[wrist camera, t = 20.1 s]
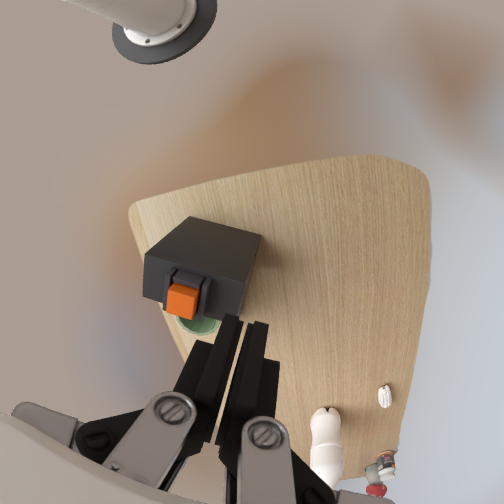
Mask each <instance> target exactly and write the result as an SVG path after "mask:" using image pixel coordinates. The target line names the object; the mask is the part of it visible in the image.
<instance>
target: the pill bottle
mask: <svg viewBox="0 0 504 504" xmlns="http://www.w3.org/2000/svg"><path fill="white" fill-rule="evenodd" d="M376 460H377V469H378V474H379V475H380V476H381V477H380V481H382V482H384V481H389V480H392V479H393V478H395V474H394V471H395V462H394V456H393V452H392V451H384V452H381V453H379V454H378V455H377V457H376Z"/></svg>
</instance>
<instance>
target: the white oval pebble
mask: <svg viewBox="0 0 504 504" xmlns="http://www.w3.org/2000/svg"><path fill="white" fill-rule="evenodd" d="M378 400H379V403H380V405H381V406H382V407H383V408H387V407H389V406H390V405H391V402H392V396H391V391H390V388H389V386H388V385H386V386H383V387H381V388H380V389H379V391H378Z"/></svg>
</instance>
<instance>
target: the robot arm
mask: <svg viewBox="0 0 504 504" xmlns="http://www.w3.org/2000/svg"><path fill="white" fill-rule="evenodd" d="M62 1H66V2H69V3H72V4H75V5H77V6H79V7H82V8H84V9H86V10H89V11H91V12H93V13H95V14H98V15H100V16H102V17H104V18H106V19H108V20H110V21H112V22H115V23H117V24H119V25H121V26H123V27H124V32H125V34H126V36H127V37H128V39H129V40H130V41H132V42H133V43H135V44H137V45H140V46H144V47H153V46H159V45H162V44H165V43H167V42H169V41H171V40H173V39H175V38H176V37H178V36H179V35H180V34H181V33H183V32H184V31H185V30H186V28H187V27H188V26H189V25H190V23H191V22H192V20H193V18H194V16H195V14H196V9H197V1H196V0H62ZM243 323H244V322H243V321H240V320H239V316H236V315H232V314H229V313H225V315H224V318H223V321H222V323H221V326H220V329H219V331H218V334H217V337H216V339H215V342H214V344H210V343H207V342H203V341H200V340H196V342H195V344H194V346H193V348H192V350H191V352H190V354H189V357H188V359H187V361H186V363H185V366H184V368H183V370H182V372H181V374H180V376H179V379H178V381H177V383H176V385H175V388H174V390H173V392H172V391H167V392H162V393H160V394H157V395H156V396H155V397H154V398H153V399H152V400H151V401H150V402H149V404H148V405H147V406H146V408H145V409H141V410H138V411H133V412H130V413H126V414H122V415H117V416H113V417H109V418H104V419H100V420H95V421H90V422H88V423H83V422H80V421H78V419H77V418H74V417H71V416H68V415H64V414H61V413H59V412H56V411H53V410H50V409H48V408H45V407H42V406H40V405H37V404H34V403H31V402H22V403H20V404H18V405H17V406H16V407H15V409H14V410H13V412H12V415H11V416H10V415H7V414H5V413H1V412H0V504H206V503H201V502H198V501H194V500H191V499H187V498H184V497H181V496H177V495H174V494H171V493H169V492H170V490H171V489H172V487H173V485H174V483H175V482H176V480H177V478H178V476H179V474H180V473H181V471H182V469H183V468H184V466H185V464H186V462H187V460H188V458H189V456H192V455H194V454H197V453H200V451H201V448H202V446H203V443H204V442H208V443H210V440H211V437H212V433H213V430H214V427H215V423H216V420H217V417H218V413H219V410H220V406H221V403H222V399H223V396H224V392H225V389H226V385H227V381H228V378H229V374H230V371H231V367H232V363H233V360H234V356H235V352H236V349H237V345H238V342H239V338H240V334H241V331H242V327H243ZM268 327H269V324H266V323H262V322H258V321H255V322H254V324H251V323H248V326H247V329H246V333H245V336H244V340H243V343H242V346H241V350H240V353H239V357H238V360H237V363H236V367H235V370H234V374H233V377H232V381H231V385H230V389H229V392H228V396H227V400H226V404H225V407H224V411H223V415H222V418H221V422H220V426H219V430H218V433H217V437H216V441H215V445H219V446H220V448H219V452H218V453H219V459H220V460H221V461H222V463H223V464H224V465H225V472H224V495H223V504H395V503H394V502H393V501H392V500H389V499H387V498H382V497H376V496H370V495H364V494H359V493H354V492H350V491H345V490H339V491H336V490H332V489H331V488H330V486H329V485H328V484H326V483H325V482H324V481H323V480H322V479H321V478H320V477H319V476H318V475H317V474H316V473H315V472H314V471H313V470H312V469H311V468H310V467H309V466H308V465H307V464H306V463H305V462H304V461H303V460H302V459H301V458H300V457H299V456H298V455H297V454H296V453H295V452H294V451H293V450H292V449H291V448H290V440H289V434H288V431H287V429H286V428H285V426H284V425H283V424H282V423H281V422H280V421H278V420H276V419H275V411H276V401H277V391H278V381H279V370H280V362H278V361H274V360H270V359H266V358H264V354H265V347H266V340H267V334H268Z"/></svg>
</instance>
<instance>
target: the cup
mask: <svg viewBox="0 0 504 504" xmlns="http://www.w3.org/2000/svg"><path fill="white" fill-rule="evenodd" d="M197 315H198V314H197ZM197 315H196V317H195V319H194V320H189V319H186V318H183V317H180V316H177V315H176V318H177V321H178V322H179V324H180V325H181V326H182V327H183V328H184V329H185V330H187V331H188V332H190V333H193V334H196V335H208V334H211V333H213V332H214V331H215V330H216V329H217V328H218V327H219V324H220V321H219V320H216V319H212V318H209V317H205V316H204V318H203V320H202V322H199V321H197Z"/></svg>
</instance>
